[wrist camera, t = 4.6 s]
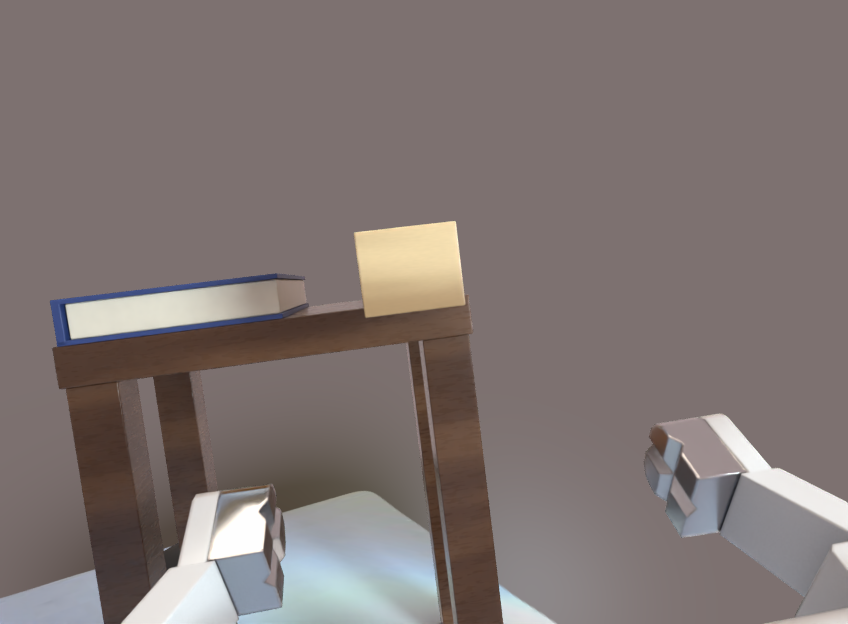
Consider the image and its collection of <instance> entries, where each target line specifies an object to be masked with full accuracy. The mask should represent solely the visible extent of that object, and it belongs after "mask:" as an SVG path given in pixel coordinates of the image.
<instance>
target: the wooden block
mask: <svg viewBox="0 0 848 624" xmlns="http://www.w3.org/2000/svg"><path fill="white" fill-rule="evenodd" d="M354 238H355V245H356V253H357V261H358V268H359V276H360V284H361V291H362V300H363V307H364V315H365V318H370V317H378V316H386V315H393V314H401V313H409V312H417V311H424V310H432V309H440V308H448V307H455V306H463V305H465V296H464V288H463V279H462V270H461V262H460V254H459V246H458V237H457V229H456V222H455V221H452V222H443V223H433V224H425V225H416V226H407V227H398V228H390V229H381V230H372V231H364V232H356V233H354Z"/></svg>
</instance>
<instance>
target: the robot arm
mask: <svg viewBox="0 0 848 624" xmlns="http://www.w3.org/2000/svg"><path fill="white" fill-rule="evenodd" d="M649 438H650V439H651V441H652V442H653V445H652V446H651V447H650V448H649V449H648V450H647V451H646V453H645V459H644V467H645V474H646V477H647V480H648V482H649V485H650V486H651V488H652V490H653V492H654V494H656V495H657V496H659V497H660V498H662V499H663V500H665V501H667V505H666V510H665V512H666V514H667V515H668V517H669V518H670V520H671V522H672V523H673V525H674V527H675V528H676V530H677V531H678V533H679V535H680V537H681V538H682V537H689V536H696V535H703V534H710V533H716V532H720V535H721V536H723V537H724V538H725V539H727V540H728V541H730V542H731V543H732V544H734V545H735V546H737V547H738V548H739V549H740V550H742V551H743V552H744V553H746V554H747V555H748V556H750V557H751V558H752V559H754V560H755V561H757V562H758V563H759V564H761V565H762V566H763V567H765V568H766V569H767V570H769V571H770V572H771V573H773V574H774V575H775V576H777V577H778V578H779V579H781V580H782V581H783V582H785V583H786V584H788V585H789V586H790V587H792V588H793V589H794V590H796V591H797V592H799V593H800V594H801V595H802V596H804V599H803V601H802V603H801V605H800V606H799V608H798V610H797V612H796V614H795V617H794V618H791V619H785V620H780V621H775V622H770V623H765V624H848V502H845V501H844V500H842V499H840V498H838V497H836V496H833V495H832V494H830V493H828V492H826V491H823V490H822V489H819V488H818V487H816V486H814V485H812V484H810V483H808V482H806V481H804V480H802V479H800V478H798V477H796V476H794V475H792V474H790V473H788V472H786V471H784V470H782V469H780V468H771V467H770V466H769V465H768V464H767V462H766V461H765V460H764V459H763V458H762V457H761V456H760V455H759V453H758V452H757V451H756V450H755V448H754V447H753V446H752V445H751V444H750V443H749V442H748V440H747V439H746V438H745V437H744V436H743V434H742V433H741V432H740V431H739V430H738V429H737V428H736V426H735V425H734V424H733V423H732V422H731V420H730V419H729V418H728V417H727V416H725V415H723V414H721V413H720V414H714V415H708V416H702V417H698V418H697V417H694V418H688V419H682V420H676V421H670V422H664V423H658V424H654V425H653V427H652V428H651V430H650V435H649ZM276 496H277V495H276V492H275V489H274V487H273V484H266V485H259V486H251V487H243V488H235V489H227V490H222V491H214V492H207V493H200V494H196V495H195V497H194V499H193V500H192V503H191V508H190V512H189V516H188V521H187V525H186V530H185V534H184V539H183V543H182V547H181V552H180V556H179V561H178V565H177V567H173V568H169V569H168V570H167V572H166V573H165V574H164V575H163V576H162V577H161V578H160V580H159V581H158V582H157V583H156V584H155V585H154V586H153V587H152V589H151V590H150V591H149V592H148V593H147V594H146V595H145V597H144V598H143V599H142V600H141V601H140V602H139V603H138V605H137V606H136V607H135V608H134V609H133V610H132V611H131V613H130V614H129V615H128V616H127V617H126V618H125V619H124V621H123V622H122V623H121V624H236V623H237V621H238V620H239V618H238V616H241V615H246V614H251V613H256V612H261V611H266V610H271V609H276V608H281V607H282V600H283V584H284V575H283V571H282V568H281V565H280V562H281V561H282V559H283V558H284V557H285V545H286V541H285V526H284V521H283V516H282V512H281V509H279V508H277V507H276Z"/></svg>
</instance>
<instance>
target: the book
mask: <svg viewBox="0 0 848 624" xmlns="http://www.w3.org/2000/svg"><path fill="white" fill-rule="evenodd" d="M303 280H305V277H304V276H295V275H286V274H277V273H275V274H267V275H259V276H251V277H242V278H234V279H226V280H217V281H209V282H201V283H192V284H184V285H176V286H167V287H159V288H150V289H142V290H134V291H126V292H117V293H110V294H101V295H92V296H84V297H75V298H67V299H59V300H51V301H50V305H51V310H52V316H53V322H54V328H55V334H56V340H57V347H61V346H69V345H77V344H85V343H92V342H100V341H108V340H116V339H124V338H132V337H140V336H147V335H155V334H163V333H171V332H179V331H187V330H194V329H202V328H210V327H218V326H226V325H234V324H241V323H249V322H257V321H265V320H273V319H281V318H284V317H287V316H289V315H291V314H293V313H295V312H298V311H300V310H302V309H304V308H307V307H309V304H308V303H307V304H306V296H305V288H304V281H303Z"/></svg>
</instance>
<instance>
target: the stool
mask: <svg viewBox="0 0 848 624" xmlns="http://www.w3.org/2000/svg"><path fill="white" fill-rule="evenodd" d="M464 296H465V305H463V306H455V307H448V308H440V309H432V310H424V311H417V312H409V313H401V314H393V315H386V316H378V317H370V318H365V315H364V307H363V300H358V301H350V302H342V303H334V304H327V305H318V306H311V307H307V308H304V309H302V310H300V311H298V312H295V313H293V314H291V315H289V316H287V317H284V318H281V319H273V320H265V321H257V322H249V323H241V324H234V325H226V326H218V327H210V328H202V329H194V330H187V331H179V332H171V333H163V334H155V335H147V336H140V337H132V338H124V339H116V340H108V341H100V342H92V343H85V344H77V345H69V346H61V347H54V348H53V356H54V361H55V368H56V373H57V380H58V386H59V389H66V393H67V399H68V405H69V411H70V418H71V423H72V429H73V436H74V442H75V448H76V454H77V460H78V466H79V472H80V479H81V485H82V491H83V497H84V503H85V509H86V516H87V522H88V527H89V533H90V539H91V545H92V551H93V558H94V564H95V571H96V577H97V583H98V589H99V595H100V601H101V607H102V614H103V620H104V624H121V623H122V622H123V621H124V619H125V618H126V617H127V616H128V615H129V614H130V613H131V611H132V610H133V609H134V608H135V607H136V606H137V605H138V603H139V602H140V601H141V600H142V599H143V598H144V597H145V595H146V594H147V593H148V592H149V591H150V590H151V589H152V587H153V586H154V585H155V584H156V583H157V582H158V581H159V580H160V578H161V577H162V576H163V575H164V574H165V573H166V572H167V570H166V563H165V557H164V550H163V544H162V538H161V531H160V525H159V518H158V512H157V506H156V499H155V493H154V486H153V480H152V474H151V467H150V460H149V454H148V447H147V441H146V435H145V429H144V422H143V415H142V409H141V402H140V396H139V390H138V383H137V379H140V378H147V377H153V379H154V385H155V392H156V398H157V405H158V411H159V417H160V424H161V431H162V437H163V444H164V451H165V457H166V464H167V469H168V477H169V483H170V490H171V496H172V503H173V509H174V516H175V522H176V529H177V534H178V542H179V548H180V552H181V547H182V543H183V539H184V534H185V530H186V525H187V521H188V516H189V512H190V508H191V503H192V500H193V499H194V497H195V495H196V494H200V493H207V492H214V491H218V489H217V483H216V476H215V469H214V463H213V456H212V449H211V443H210V436H209V429H208V422H207V415H206V409H205V402H204V396H203V389H202V382H201V375H200V370H207V369H214V368H222V367H229V366H236V365H243V364H252V363H259V362H266V361H274V360H281V359H289V358H295V357H303V356H310V355H318V354H326V353H333V352H340V351H348V350H356V349H363V348H370V347H378V346H385V345H393V344H400V343H406V346H407V355H408V363H409V371H410V379H411V387H412V395H413V403H414V411H415V419H416V427H417V435H418V443H419V451H420V458H421V467H422V475H423V483H424V491H425V498H426V507H427V514H428V522H429V530H430V539H431V546H432V554H433V562H434V570H435V578H436V586H437V594H438V602H439V610H440V618H441V624H503V618H502V609H501V601H500V592H499V584H498V576H497V567H496V559H495V550H494V542H493V533H492V525H491V517H490V509H489V500H488V492H487V483H486V474H485V467H484V458H483V449H482V441H481V432H480V424H479V415H478V407H477V399H476V390H475V382H474V374H473V365H472V357H471V348H470V340H469V334H472V333H473V327H472V318H471V309H470V301H469V295H466V294H464ZM236 624H237V623H236Z"/></svg>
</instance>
